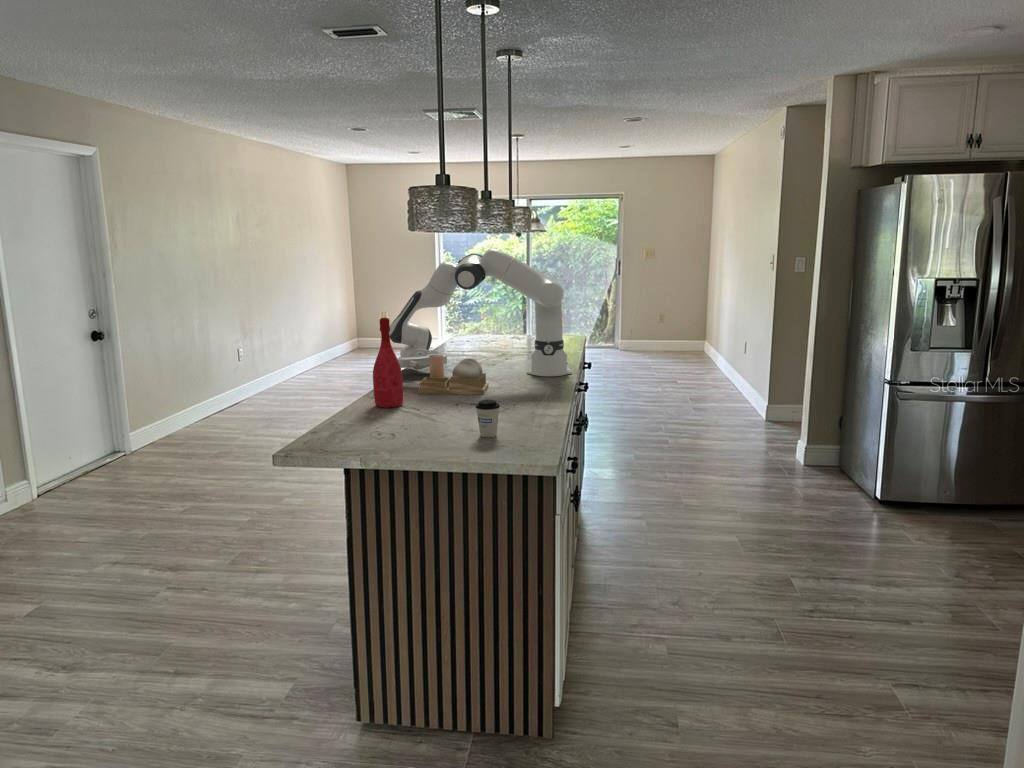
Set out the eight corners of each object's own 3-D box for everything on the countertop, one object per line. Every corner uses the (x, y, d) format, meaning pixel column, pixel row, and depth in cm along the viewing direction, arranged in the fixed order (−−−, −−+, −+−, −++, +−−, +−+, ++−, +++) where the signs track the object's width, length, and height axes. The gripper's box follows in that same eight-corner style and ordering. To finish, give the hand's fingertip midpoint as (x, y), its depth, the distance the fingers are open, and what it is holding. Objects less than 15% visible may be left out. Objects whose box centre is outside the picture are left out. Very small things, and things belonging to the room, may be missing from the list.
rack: (426, 386, 263) (425, 357, 261) (488, 386, 261) (487, 357, 259) (418, 394, 251) (417, 363, 248) (483, 394, 248) (482, 363, 246)
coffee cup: (487, 431, 200) (486, 397, 198) (505, 435, 195) (505, 400, 193) (471, 436, 194) (470, 402, 192) (489, 440, 190) (488, 405, 188)
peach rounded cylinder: (432, 382, 272) (430, 354, 270) (445, 382, 271) (444, 354, 269) (428, 385, 267) (427, 357, 264) (442, 385, 266) (441, 357, 264)
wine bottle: (369, 408, 231) (363, 319, 225) (382, 401, 240) (378, 315, 234) (395, 409, 228) (391, 319, 222) (408, 402, 237) (404, 316, 231)
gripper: (393, 353, 285) (402, 358, 273) (440, 349, 293) (451, 354, 281) (394, 368, 286) (403, 373, 274) (440, 364, 295) (451, 369, 282)
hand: (428, 363), depth 278 cm, fingers open, 8 cm apart
